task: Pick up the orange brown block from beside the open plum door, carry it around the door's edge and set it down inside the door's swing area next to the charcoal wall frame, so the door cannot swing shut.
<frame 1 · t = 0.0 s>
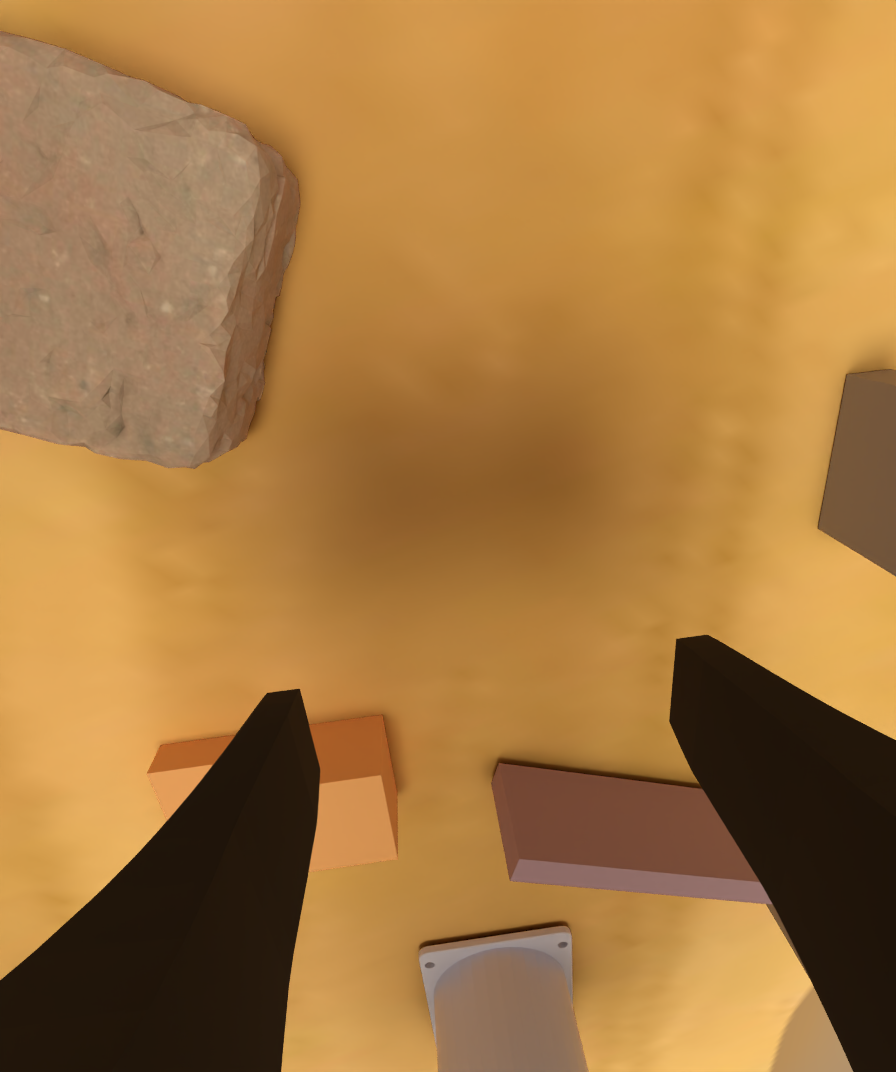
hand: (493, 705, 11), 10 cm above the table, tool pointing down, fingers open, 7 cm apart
orange brown block: (285, 764, 25), on the table
door: (652, 842, 25), point 3 cm above the table, hinge at 70.0°
wall frame: (805, 685, 25), on the table
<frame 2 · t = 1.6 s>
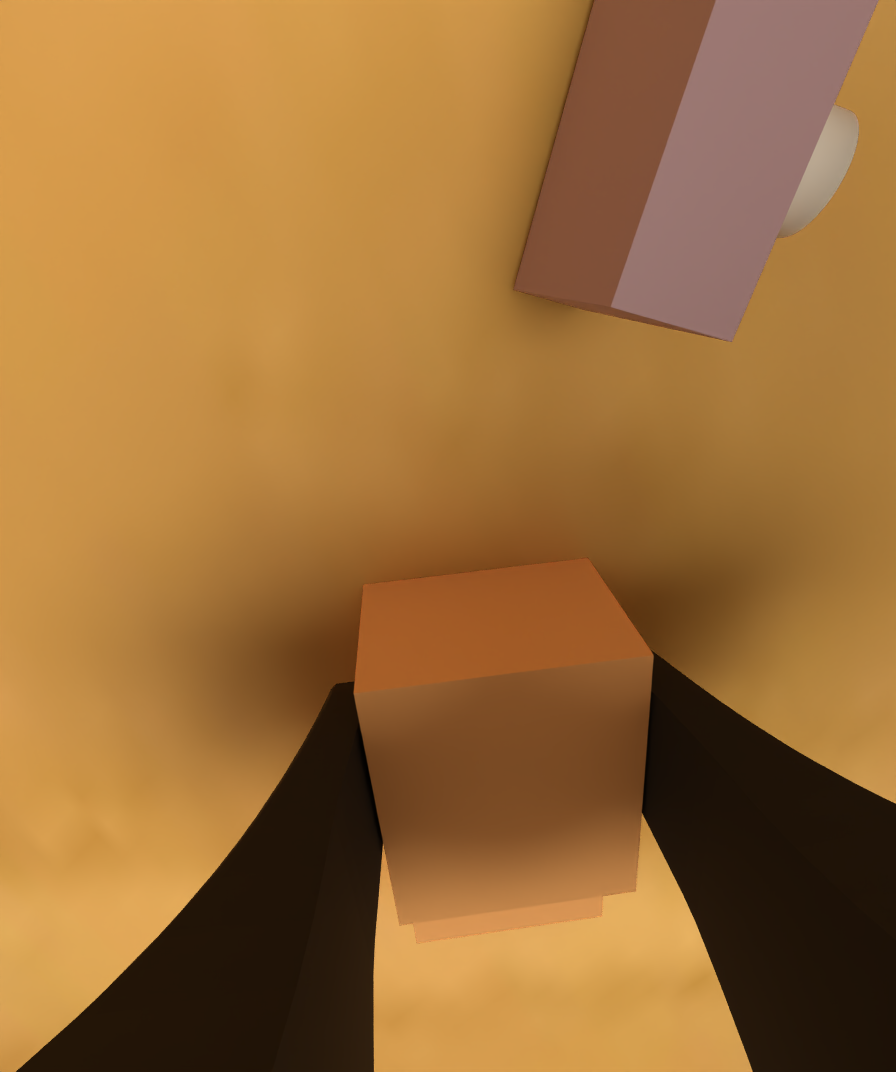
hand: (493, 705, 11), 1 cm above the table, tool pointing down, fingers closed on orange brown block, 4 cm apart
orange brown block: (487, 733, 14), on the table, touching gripper
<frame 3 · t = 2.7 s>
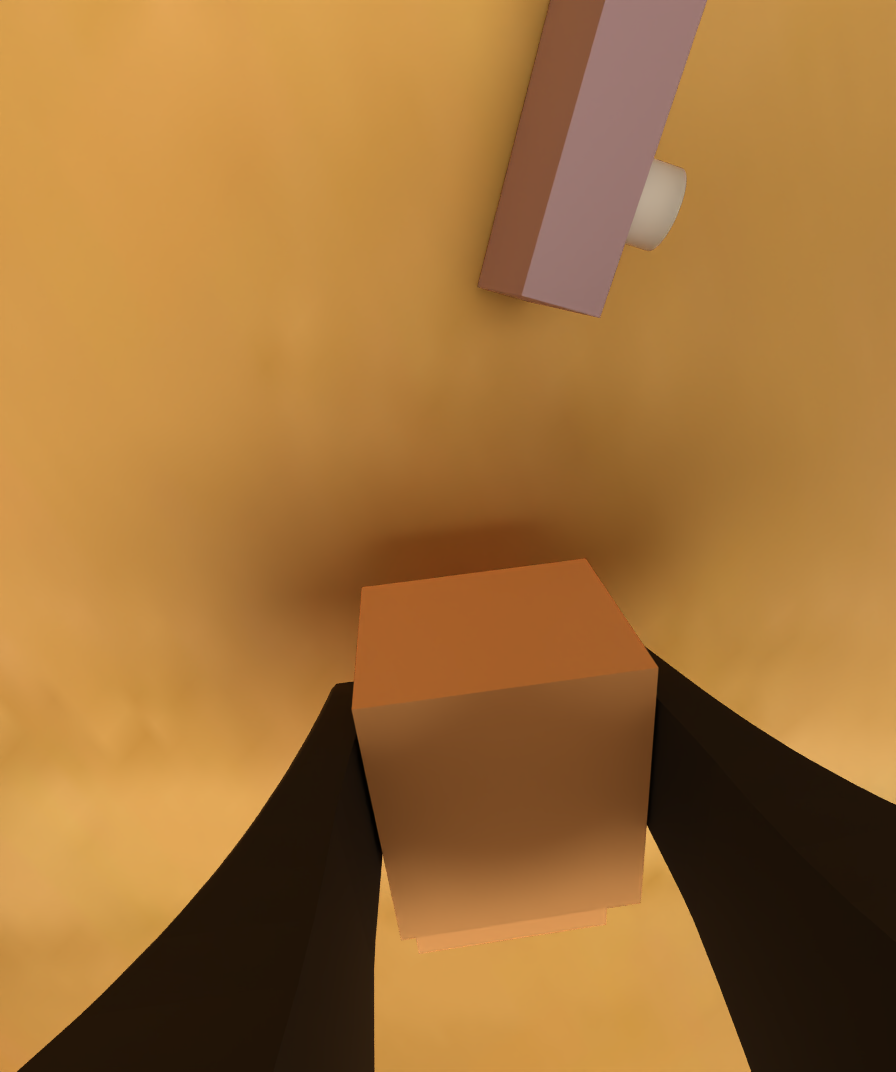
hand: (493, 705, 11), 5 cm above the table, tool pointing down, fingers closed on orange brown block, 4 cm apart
orange brown block: (489, 741, 14), point 3 cm above the table, touching gripper
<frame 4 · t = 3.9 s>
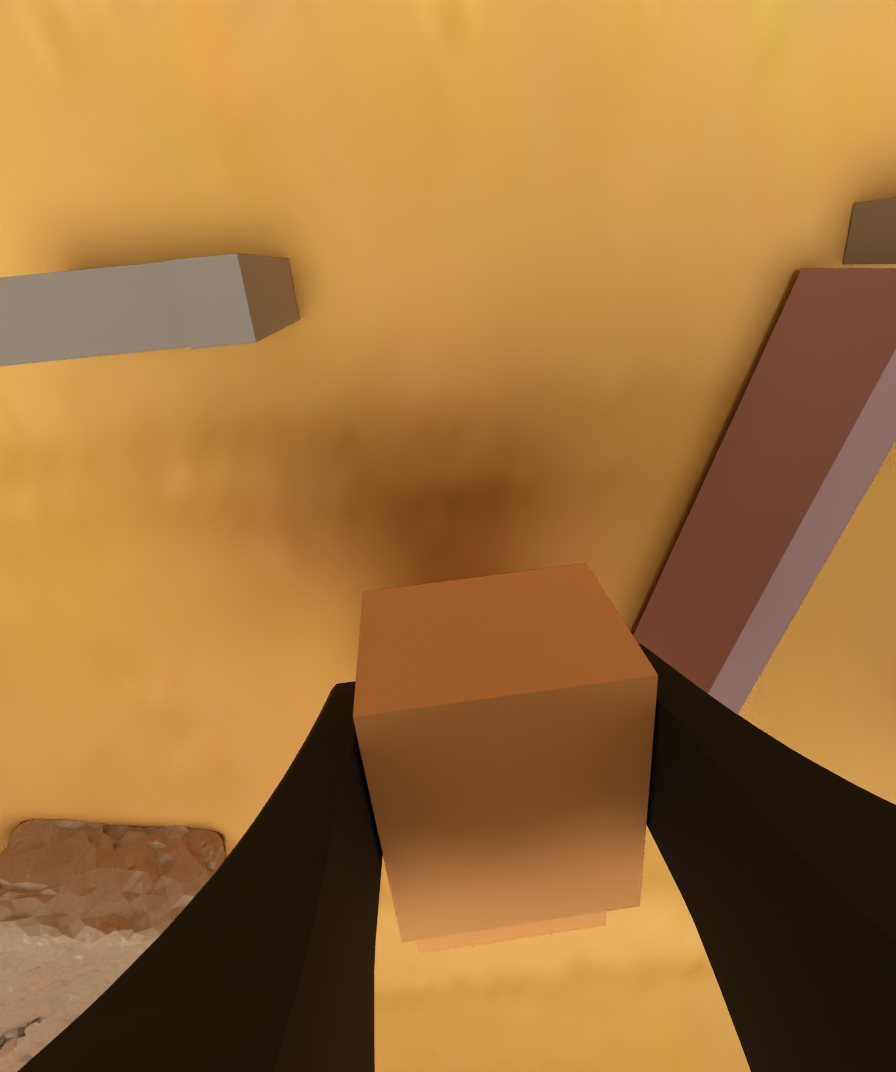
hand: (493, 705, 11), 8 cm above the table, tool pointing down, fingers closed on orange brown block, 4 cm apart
orange brown block: (489, 744, 14), point 7 cm above the table, touching gripper
door: (768, 528, 17), point 3 cm above the table, hinge at 70.0°
wall frame: (572, 261, 16), on the table
brick: (136, 940, 27), on the table
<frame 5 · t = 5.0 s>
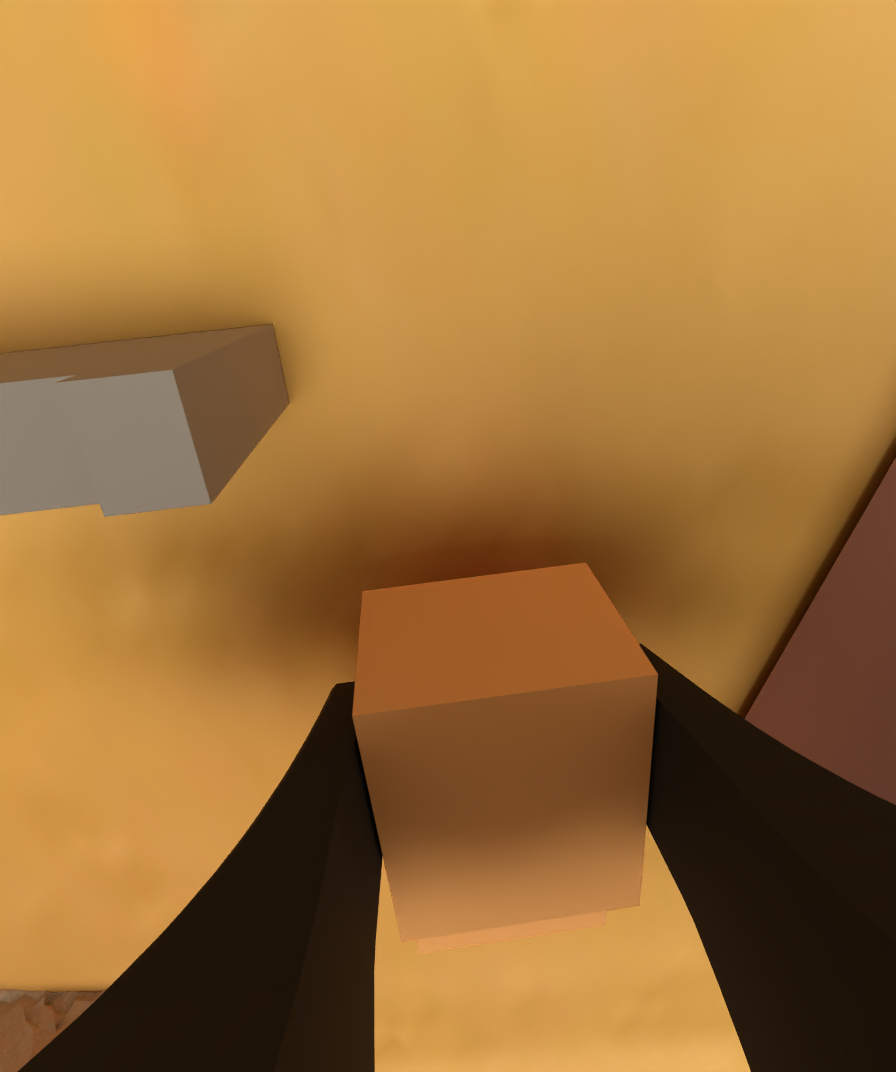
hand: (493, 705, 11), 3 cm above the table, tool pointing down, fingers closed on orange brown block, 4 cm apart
orange brown block: (489, 743, 14), point 2 cm above the table, touching gripper
wall frame: (661, 322, 12), on the table
when the fingers open (2 cm above the table, at t = 5.7 s): orange brown block drops 1 cm, on the table.
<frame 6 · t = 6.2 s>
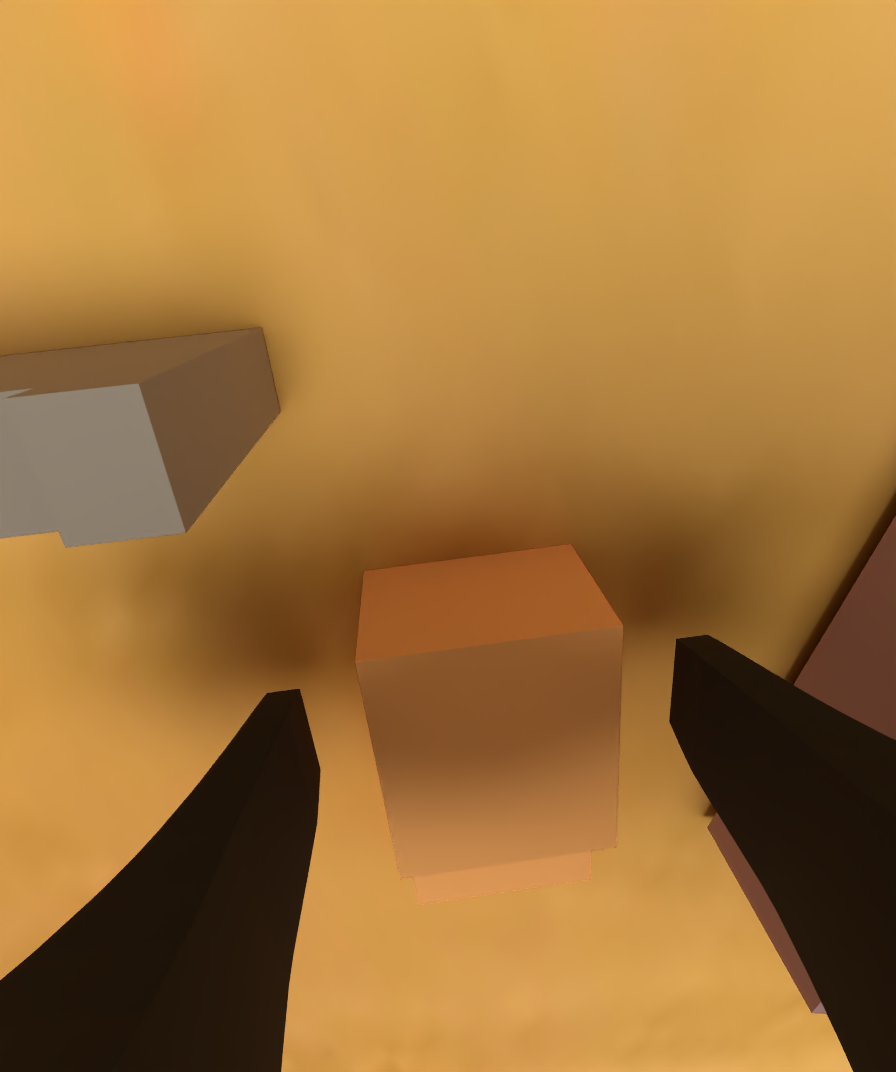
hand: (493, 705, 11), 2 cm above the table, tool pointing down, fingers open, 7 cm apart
orange brown block: (482, 709, 15), on the table
wall frame: (678, 325, 11), on the table
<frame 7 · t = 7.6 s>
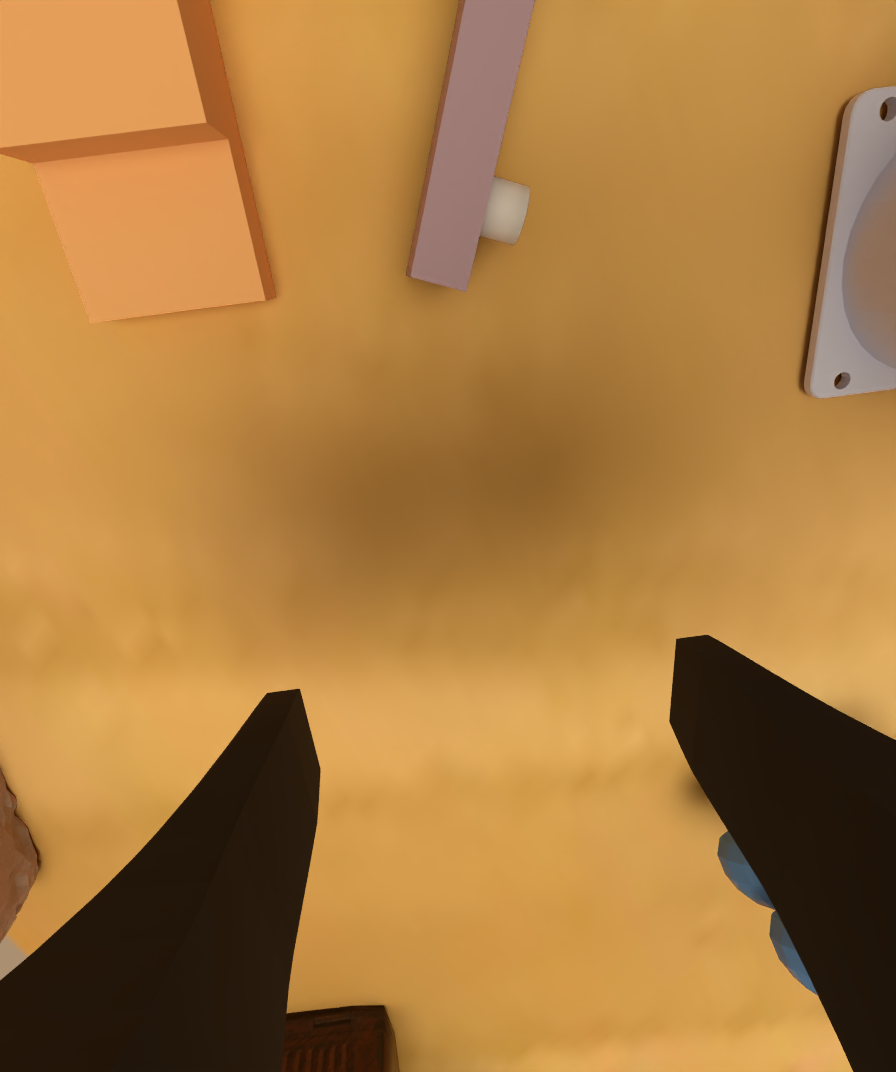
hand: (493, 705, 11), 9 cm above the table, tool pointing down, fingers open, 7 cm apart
pepper mill: (348, 1057, 33), on the table
orange brown block: (146, 117, 15), on the table
grapes: (804, 763, 26), on the table
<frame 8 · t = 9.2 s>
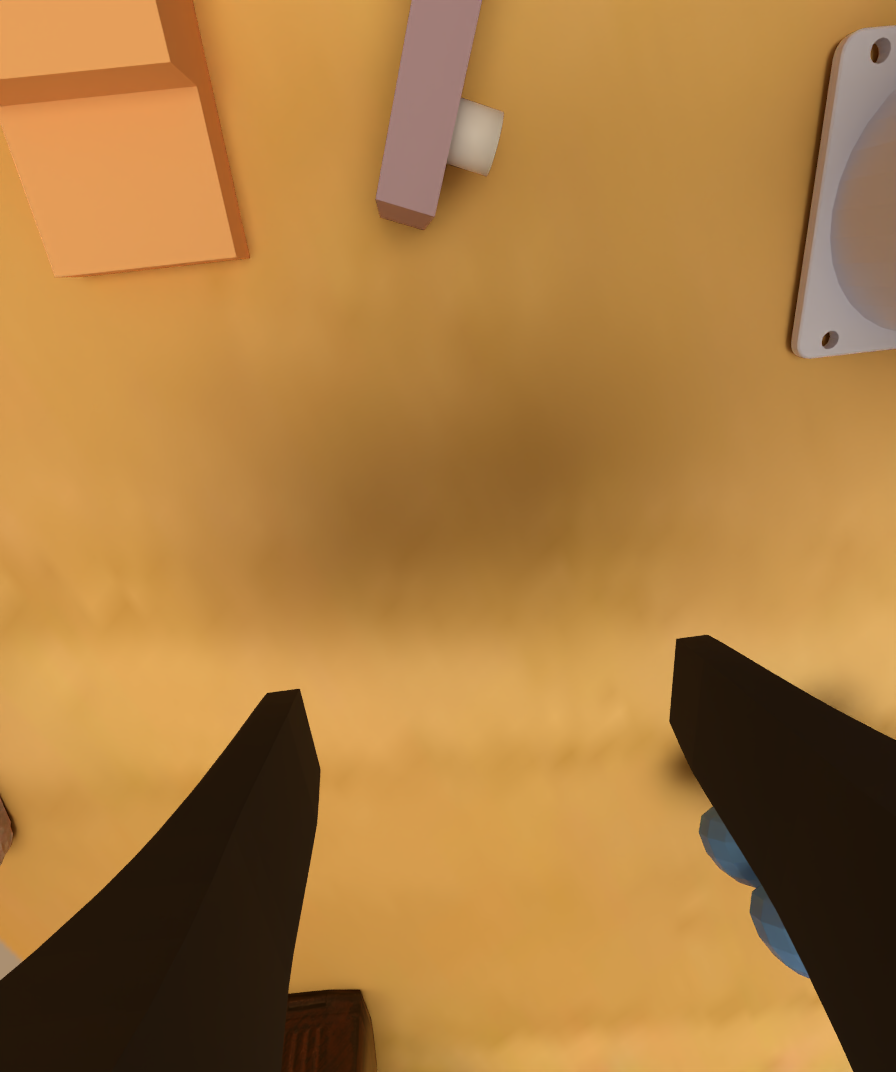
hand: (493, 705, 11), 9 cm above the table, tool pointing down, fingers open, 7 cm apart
pepper mill: (324, 1043, 33), on the table
orange brown block: (115, 66, 14), on the table
grapes: (789, 744, 26), on the table
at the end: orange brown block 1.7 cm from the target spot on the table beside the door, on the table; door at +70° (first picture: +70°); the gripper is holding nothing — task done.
